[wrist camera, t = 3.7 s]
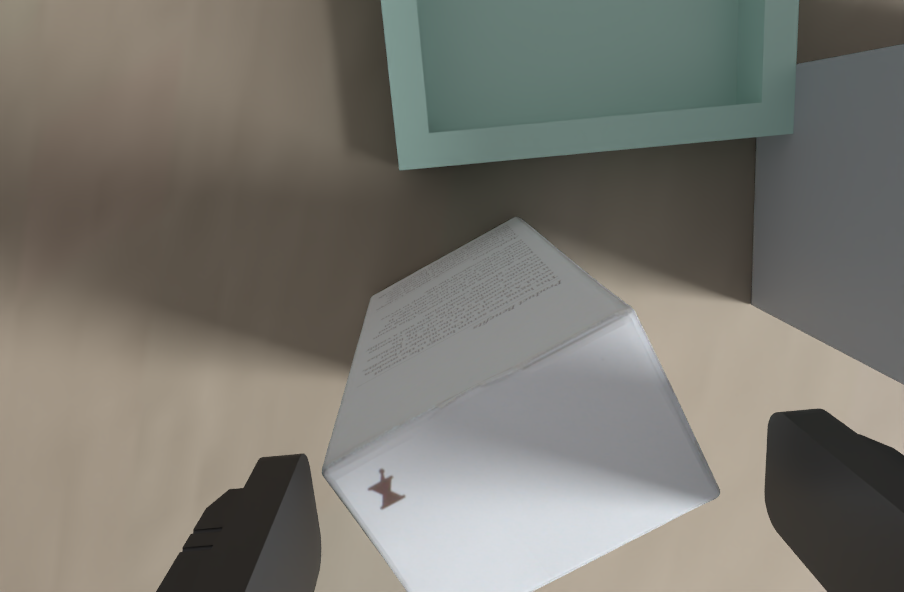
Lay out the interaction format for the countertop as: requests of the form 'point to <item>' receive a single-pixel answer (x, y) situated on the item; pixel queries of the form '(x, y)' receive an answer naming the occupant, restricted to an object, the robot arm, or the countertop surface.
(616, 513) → the skincare box
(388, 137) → the countertop surface
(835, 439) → the robot arm
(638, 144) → the tray
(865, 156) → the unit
